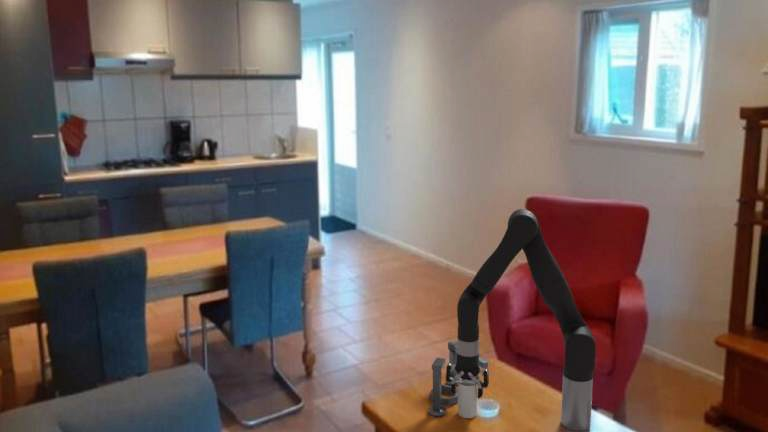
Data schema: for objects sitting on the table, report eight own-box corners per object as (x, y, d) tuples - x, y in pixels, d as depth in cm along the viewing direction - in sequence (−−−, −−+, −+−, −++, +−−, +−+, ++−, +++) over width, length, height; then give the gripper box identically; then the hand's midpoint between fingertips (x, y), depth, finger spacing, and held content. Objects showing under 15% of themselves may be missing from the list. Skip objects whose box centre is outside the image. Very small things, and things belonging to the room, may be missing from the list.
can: (476, 419, 209) (476, 386, 206) (457, 418, 210) (457, 385, 207) (477, 410, 215) (478, 377, 212) (458, 408, 216) (458, 376, 214)
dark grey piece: (449, 407, 217) (449, 359, 213) (443, 418, 210) (443, 369, 206) (432, 404, 219) (432, 356, 215) (426, 415, 212) (425, 366, 208)
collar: (462, 393, 226) (462, 387, 225) (455, 407, 217) (455, 400, 216) (435, 389, 229) (435, 383, 229) (427, 402, 220) (427, 396, 220)
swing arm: (445, 347, 232) (445, 342, 231) (454, 345, 234) (454, 340, 233) (481, 369, 214) (481, 364, 214) (490, 366, 216) (490, 361, 216)
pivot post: (461, 381, 236) (461, 347, 233) (458, 387, 231) (458, 353, 228) (448, 379, 237) (448, 346, 234) (445, 385, 233) (445, 351, 230)
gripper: (491, 349, 209) (489, 393, 212) (449, 343, 213) (449, 386, 217) (486, 358, 202) (485, 404, 205) (444, 352, 206) (443, 397, 210)
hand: (466, 395), depth 211 cm, fingers open, 8 cm apart
